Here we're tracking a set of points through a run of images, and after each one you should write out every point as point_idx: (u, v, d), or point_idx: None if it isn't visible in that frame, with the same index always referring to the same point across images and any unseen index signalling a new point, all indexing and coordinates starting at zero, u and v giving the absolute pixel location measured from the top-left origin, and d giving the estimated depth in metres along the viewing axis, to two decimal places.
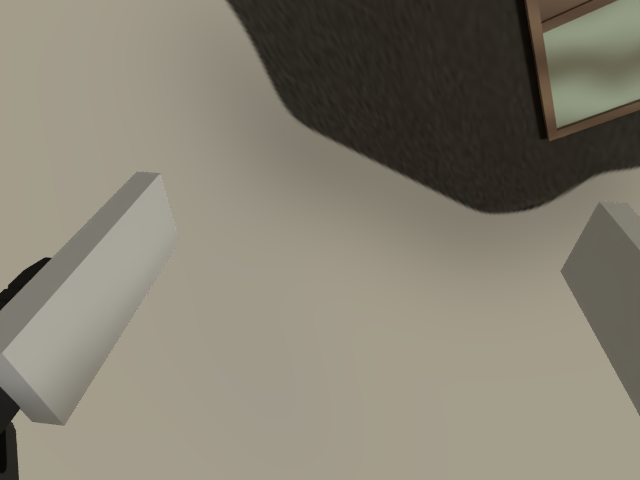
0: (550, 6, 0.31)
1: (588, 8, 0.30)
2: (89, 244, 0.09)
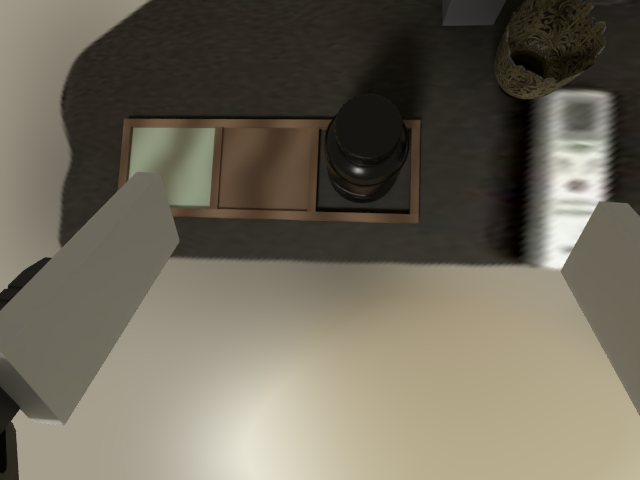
0: (231, 136, 0.40)
1: (216, 158, 0.39)
2: (89, 244, 0.09)
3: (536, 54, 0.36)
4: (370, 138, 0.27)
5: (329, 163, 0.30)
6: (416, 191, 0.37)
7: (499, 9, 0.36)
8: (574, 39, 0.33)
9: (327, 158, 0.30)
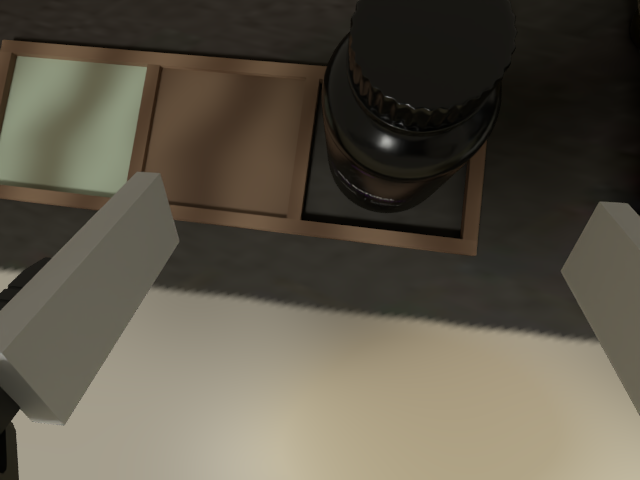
0: (173, 81, 0.24)
1: (144, 116, 0.24)
2: (89, 244, 0.09)
3: None
4: (435, 61, 0.11)
5: (330, 126, 0.14)
6: (476, 201, 0.22)
7: None
8: None
9: (327, 116, 0.14)
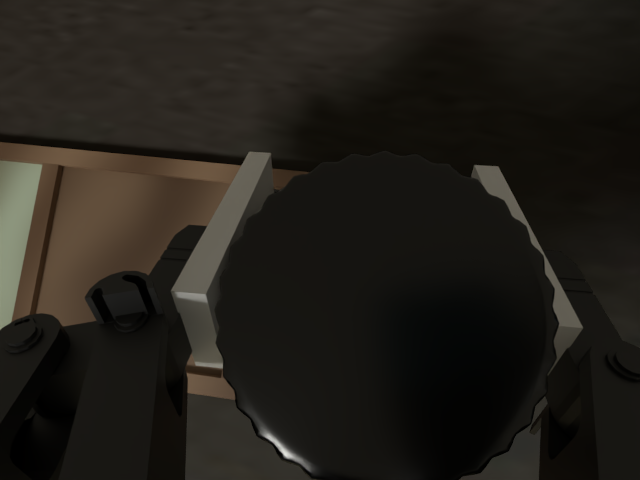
0: (76, 185, 0.18)
1: (36, 233, 0.18)
2: (237, 211, 0.10)
3: None
4: (387, 388, 0.05)
5: None
6: None
7: None
8: None
9: None
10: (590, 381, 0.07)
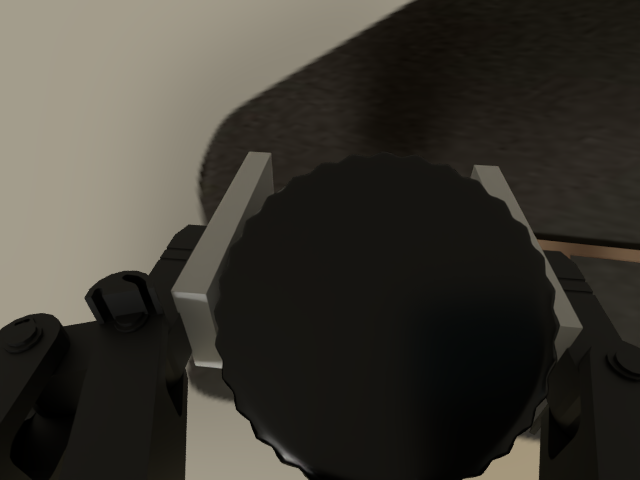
0: None
1: None
2: (237, 211, 0.10)
3: None
4: (387, 390, 0.05)
5: None
6: None
7: None
8: None
9: None
10: (590, 381, 0.07)
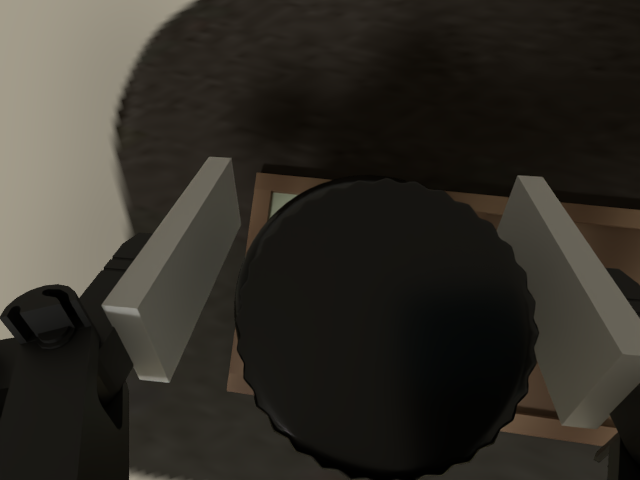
0: None
1: None
2: (185, 219, 0.10)
3: None
4: (388, 389, 0.06)
5: None
6: None
7: None
8: None
9: None
10: None
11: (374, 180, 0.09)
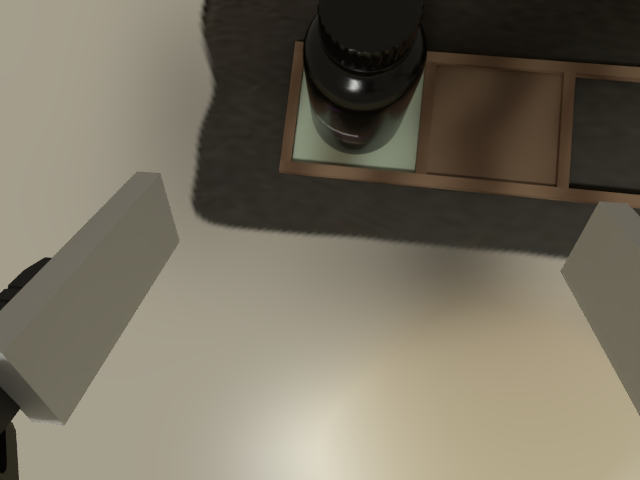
0: (446, 76, 0.29)
1: (426, 104, 0.28)
2: (89, 244, 0.09)
3: None
4: (371, 23, 0.17)
5: (309, 74, 0.21)
6: None
7: None
8: None
9: (306, 67, 0.21)
10: None
11: None
